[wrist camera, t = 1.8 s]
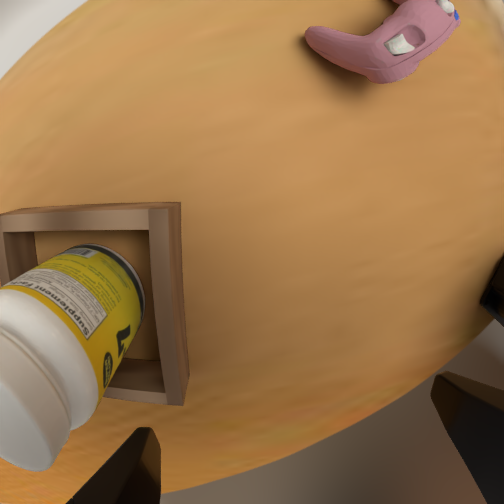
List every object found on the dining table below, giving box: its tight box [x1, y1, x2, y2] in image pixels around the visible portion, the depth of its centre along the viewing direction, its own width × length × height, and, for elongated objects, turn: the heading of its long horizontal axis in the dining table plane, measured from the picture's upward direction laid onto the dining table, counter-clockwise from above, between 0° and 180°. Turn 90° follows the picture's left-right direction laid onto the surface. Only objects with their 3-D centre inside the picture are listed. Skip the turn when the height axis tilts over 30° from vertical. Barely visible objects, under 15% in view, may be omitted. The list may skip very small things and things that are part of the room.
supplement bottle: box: [0, 244, 145, 471], centre depth 13 cm, size 7×7×13 cm
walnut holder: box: [0, 202, 189, 406], centre depth 17 cm, size 12×12×4 cm
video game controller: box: [305, 0, 461, 84], centre depth 13 cm, size 10×5×7 cm, turn 138°
